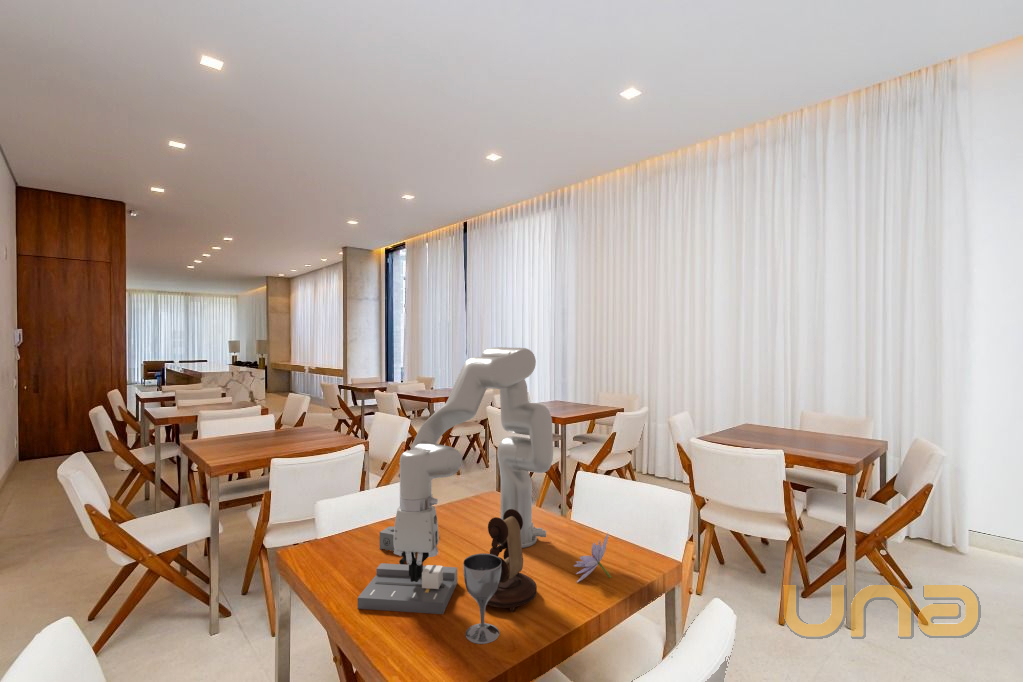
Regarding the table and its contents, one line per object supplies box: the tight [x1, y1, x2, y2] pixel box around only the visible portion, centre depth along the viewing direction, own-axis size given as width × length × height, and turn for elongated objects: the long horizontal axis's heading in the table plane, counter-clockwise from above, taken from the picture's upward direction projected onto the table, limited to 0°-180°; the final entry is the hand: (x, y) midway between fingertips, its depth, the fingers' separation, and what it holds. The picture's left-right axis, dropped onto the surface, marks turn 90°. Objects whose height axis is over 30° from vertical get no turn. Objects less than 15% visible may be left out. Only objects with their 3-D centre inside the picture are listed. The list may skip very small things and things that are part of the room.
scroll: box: [486, 509, 538, 613], centre depth 116 cm, size 15×15×20 cm
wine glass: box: [462, 552, 501, 645], centre depth 102 cm, size 8×8×15 cm
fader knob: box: [422, 564, 444, 589], centre depth 116 cm, size 4×4×4 cm
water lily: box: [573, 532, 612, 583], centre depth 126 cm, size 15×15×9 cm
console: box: [357, 562, 458, 615], centre depth 117 cm, size 20×14×4 cm
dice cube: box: [379, 525, 394, 552], centre depth 145 cm, size 5×5×5 cm
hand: (415, 579), depth 117 cm, fingers closed
